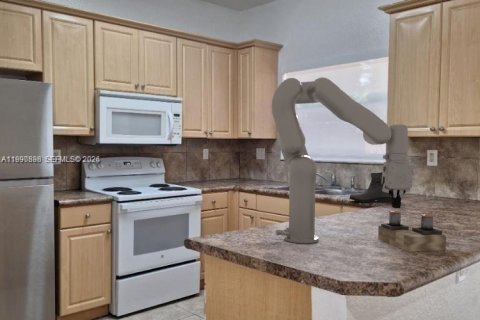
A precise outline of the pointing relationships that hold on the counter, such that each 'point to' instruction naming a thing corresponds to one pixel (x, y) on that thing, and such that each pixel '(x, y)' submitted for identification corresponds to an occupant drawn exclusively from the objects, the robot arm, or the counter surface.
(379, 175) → the boot
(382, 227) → the maple block
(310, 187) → the robot arm
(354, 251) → the counter surface
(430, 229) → the peg
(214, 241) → the counter surface
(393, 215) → the peg
